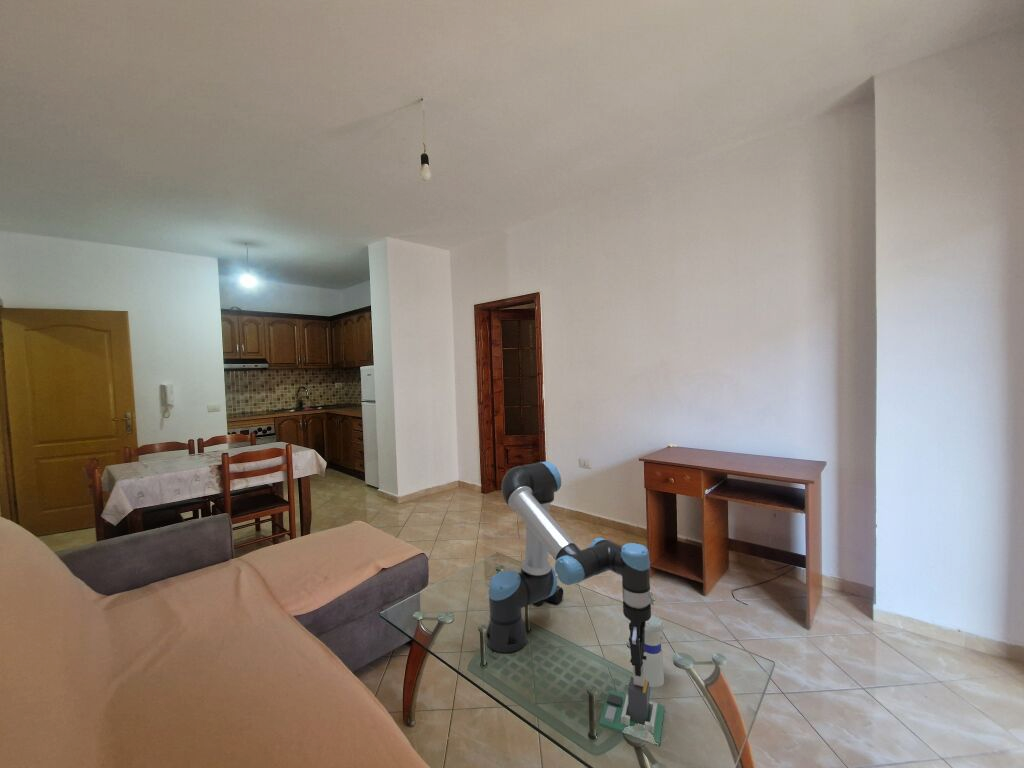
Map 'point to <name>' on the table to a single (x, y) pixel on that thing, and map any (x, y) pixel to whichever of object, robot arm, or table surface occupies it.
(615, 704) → the board
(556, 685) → the table surface
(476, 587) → the table surface
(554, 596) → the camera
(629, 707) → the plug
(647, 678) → the water bottle
